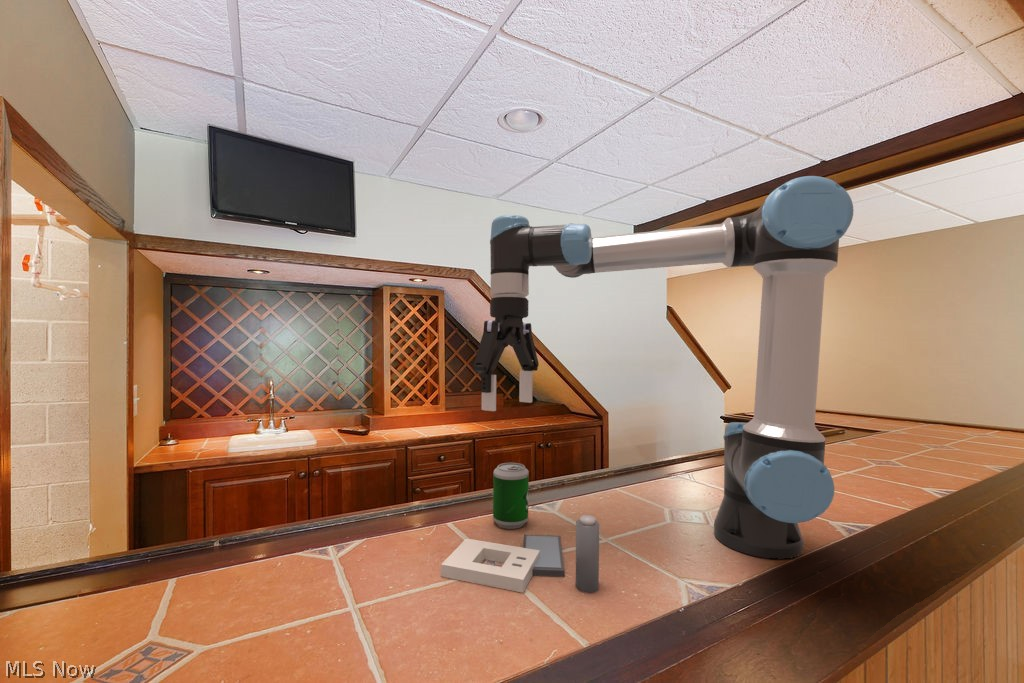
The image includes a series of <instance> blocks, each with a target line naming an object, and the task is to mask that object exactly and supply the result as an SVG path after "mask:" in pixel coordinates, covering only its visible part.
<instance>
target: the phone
mask: <svg viewBox="0 0 1024 683" xmlns="http://www.w3.org/2000/svg"><path fill="white" fill-rule="evenodd" d="M522 546H523V547H522V548H528V549H534V550H540V556H539V558H538V560H537V561H536V563H535V565H534V568H533V569H532V577H533V576H537V577H539V576H540V577H558V578H559V577H560V578H562V577H563V578H565V564H564V563H565V562H564V555H563V548H562V540H561V535H552V534H551V535H550V534H549V535H546V534H523V544H522Z"/></svg>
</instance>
